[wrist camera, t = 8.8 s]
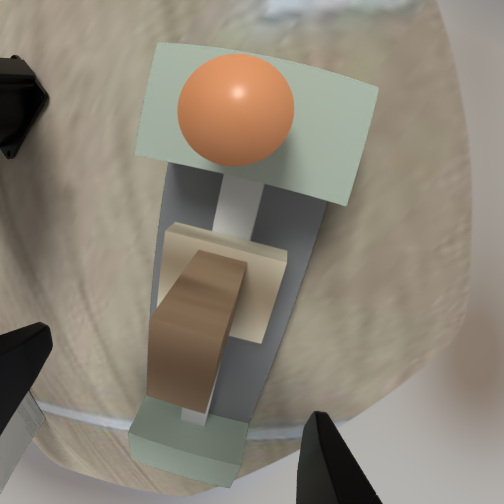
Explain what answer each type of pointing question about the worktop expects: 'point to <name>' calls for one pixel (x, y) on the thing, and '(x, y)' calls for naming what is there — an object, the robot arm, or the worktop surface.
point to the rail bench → (271, 231)
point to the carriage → (206, 309)
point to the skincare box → (18, 436)
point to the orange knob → (235, 110)
